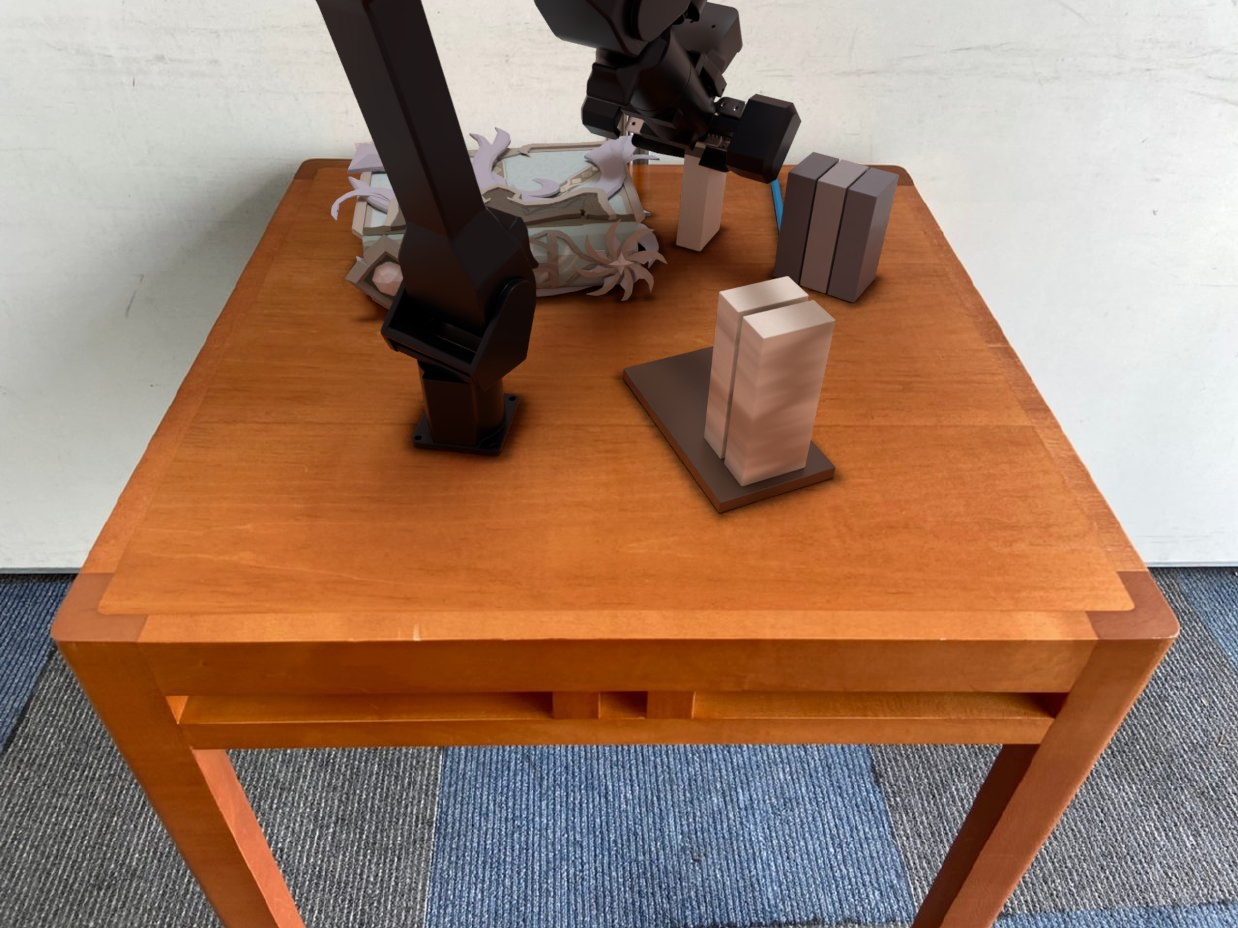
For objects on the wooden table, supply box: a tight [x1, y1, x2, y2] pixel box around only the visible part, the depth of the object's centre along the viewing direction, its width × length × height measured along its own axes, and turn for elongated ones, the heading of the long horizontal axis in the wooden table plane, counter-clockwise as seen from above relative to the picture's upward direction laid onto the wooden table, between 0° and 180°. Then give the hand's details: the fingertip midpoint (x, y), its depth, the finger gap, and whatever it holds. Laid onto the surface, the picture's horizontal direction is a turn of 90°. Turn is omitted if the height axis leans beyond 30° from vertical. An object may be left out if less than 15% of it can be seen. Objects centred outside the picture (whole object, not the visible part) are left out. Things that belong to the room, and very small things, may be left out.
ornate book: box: [330, 126, 668, 311], centre depth 83 cm, size 23×10×30 cm
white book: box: [675, 113, 728, 252], centre depth 84 cm, size 5×2×12 cm, turn 153°
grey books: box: [772, 151, 900, 304], centre depth 79 cm, size 5×8×10 cm, turn 56°
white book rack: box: [622, 276, 837, 514], centre depth 62 cm, size 9×16×13 cm, turn 23°
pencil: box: [770, 178, 784, 233], centre depth 91 cm, size 1×17×1 cm, turn 176°
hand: (714, 159), depth 84 cm, fingers closed on white book, 3 cm apart
